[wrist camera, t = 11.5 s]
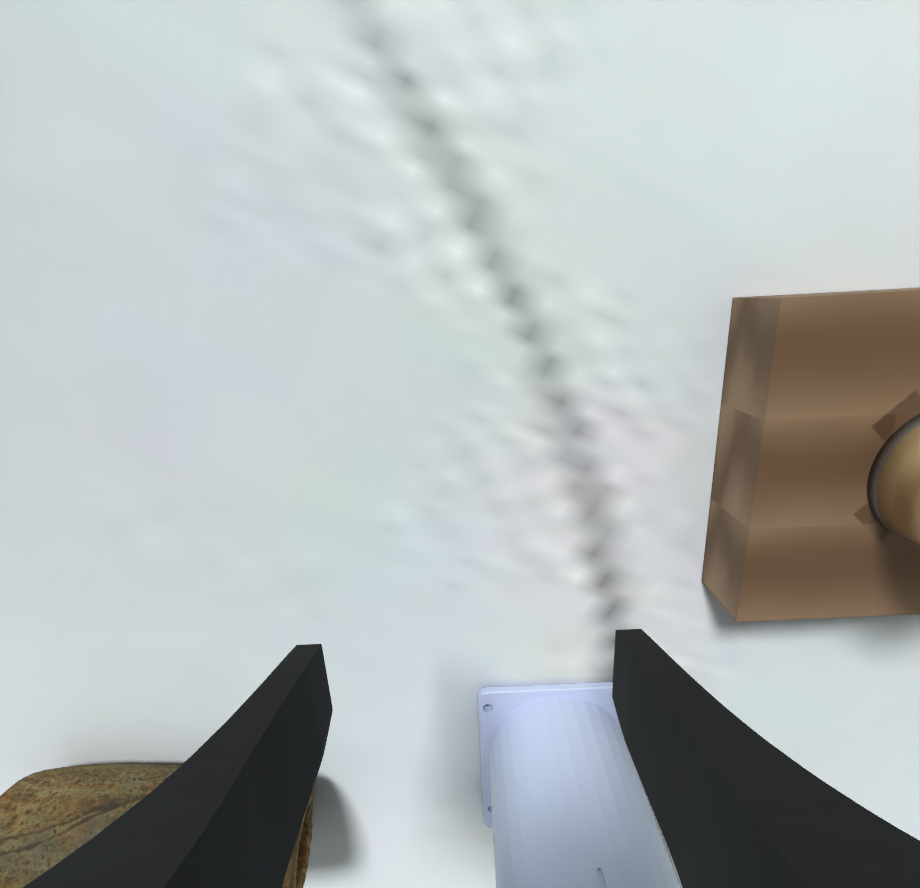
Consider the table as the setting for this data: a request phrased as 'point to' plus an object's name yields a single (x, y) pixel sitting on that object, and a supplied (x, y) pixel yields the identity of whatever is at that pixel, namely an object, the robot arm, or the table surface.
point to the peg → (898, 482)
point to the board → (812, 456)
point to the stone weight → (88, 816)
